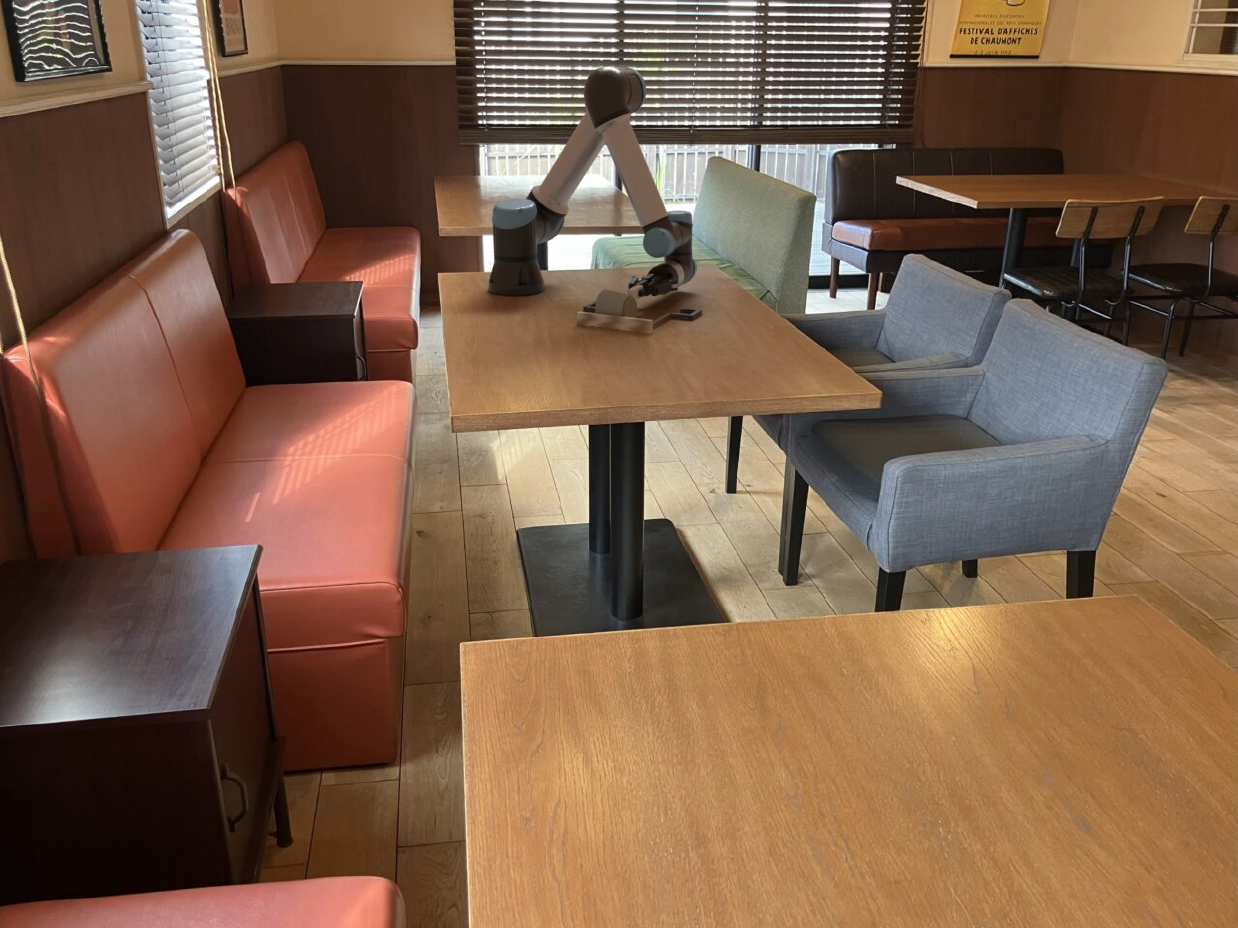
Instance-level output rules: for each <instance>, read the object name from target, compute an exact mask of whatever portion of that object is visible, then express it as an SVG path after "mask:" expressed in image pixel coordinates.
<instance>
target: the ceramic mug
mask: <svg viewBox="0 0 1238 928" xmlns="http://www.w3.org/2000/svg"><path fill="white" fill-rule="evenodd" d="M595 301H596V304H595V313H597V314H605V315H614V316H623V317H632V318H637V315H638V312H637V311H638V303H637V300H635V298H634V297H633V296H631V295H628V294H627V293H624V292H618V291H616V290H615V291H614V290H611V289H607V288H605V289H602V290H601V291H600V292H599V293H598V295H597V297H596V300H595Z"/></svg>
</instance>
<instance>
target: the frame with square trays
mask: <svg viewBox="0 0 1238 928" xmlns="http://www.w3.org/2000/svg"><path fill="white" fill-rule="evenodd" d="M595 304H596V300H594V301H592V302H590V303H588V304H586V305H584V306H582V310H583V311H577V312H576V325H577V326H582V325H586V326H585V327H590V326H596V327H595V328H598V327H602V328H601V329H607V328H611V329H610V330H615V329H619V330H618V331H624V330H625V331H626V332H633V333H635V332H636V333H643V334H651V335H652V333H653V332H654V330H655V329H656V328H657V327H659V326H660V325H663V324H664V323H666V322H667V321H670V320H671V319H675V320H683V321H694V320H695V319H697V318H698V317H700V316H702V315H703V309H699V308H691V307H680V308H679V312H667V313H666V314H664V315H662V316H660V317H659V318H657V319H655V320H654V319H648V318H640V317H639V318H638V317H636V318H632V317H623V316H614V315H605V314H597V313H595ZM625 331H624V332H625Z"/></svg>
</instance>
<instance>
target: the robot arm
mask: <svg viewBox="0 0 1238 928" xmlns="http://www.w3.org/2000/svg"><path fill="white" fill-rule="evenodd" d="M583 98H584V106H585V113H584V115H583V116H582V117H581V119H580V121H579V123H578V125H577V126H576V127H575V129H574V131H573V133H572V134H571V135H570V137H569V139H568V141H567V143H566V144H565V146H564V147H563V148H562V150H561V152H560V153H559V155H558V157H557V158H556V160H555V162H554V163H553V165H552V167H551V168H550V170H549V171H548V173H547V174H546V175H545V177H544V179H543V180H542V183H541V184H540V185H535V186H533V187H532V188H531V190H530V192H528V194H527V196H526V198H525V199H524V198H514V199H509V200H507V199H506V200H502V201H500V202H498V203H496V204H495V205H493V208H492V217H491V223H492V241H493V246H492V247H493V265H492V269H491V272H490V274H489V275H490V276H489V279H488V291H489V293H493V294H495V295H501V296H530V295H536V294H539V293H542V292H544V291H545V280H544V277H543V274H542V271H541V268H540V266H539V262H538V245H539V244H542V243H546V242H549V241H552V240H553V239H555V238H556V237H557V236H558V235H559V234H560V232H562V230H563V228H564V224H565V217H567V215H568V212H569V205H568V202H570V200H571V197H572V196H573V195H574V193H575V192H576V191H577V188H578V187H579V186H580V184H581V183H582V181H583V179H584V178H585V176H586V174H587V173H588V171H589V170H590V168H591V167H592V165H593V163H594V162H595V160H596V159H597V158H598V156H599V154H600V152H601V151H602V149H604V146H605V145H606V148H607V150H608V153H609V155H610V157H611V160H612V162H613V164H614V166H615V169H616V171H617V174H618V177H620V181H621V182H622V185H623V188H624V190H625V192H626V195H627V197H628V200H629V202H630V204H631V207H632V209H633V211H634V213H635V216H636V219H637V221H638V224H639V225H640V228H641V230H642V233H643V235H644V236H643V240H642V246H643V249H644V252H645V253H646V254H647V255H648V256H650V257H652V258H655V259H661V258H663V262H661V263H658V264H657V265H655V266H653V267H652V268H651V269H650V270H649V271H648V272H647V275H644V276H642V277H641V278H640V276H636V275H632V276H631V280H630V281H629V282H628V287H627V288H628V289H627V290H626V291H627V292H626V294H628V295H631V296H633V297H634V298H635V300H636V301H638V300H639V299H641V298H643V297H649V296H650V295H651V297H658V296H660V295H661V296H663V295H666V294H669V293H671V292H676V291H678V290H679V287H681V286H682V285H685V284H687V283H689V282H690V281H691V280H692V279H694V277H695V276H696V274H697V272H698V271H697V270H698V264H697V262H696V259H695V258H694V257H693V227H694V224H693V214H692V213H691V212H690V211H687V210H669V211H667V209H666V206H665V204H664V202H663V199H662V197H661V195H660V192H659V189H658V187H657V184H656V182H655V180H654V177H653V175H652V172H651V170H650V167H649V165H648V162H647V160H646V157H645V156H644V153H643V150H642V148H641V146H640V144H639V141H638V138H637V135H636V134H635V131H634V129H633V126H632V124H631V121H630V119H631V116H632V114H633V113H636V112H637V111H639V109H641V108H642V106H643V105H644V103H645V101H646V98H647V85H646V81H645V79H644V77H643V75H642V74H641V73H640V72H639V71H637V69H635V68H633V67H631V66H628V65H621V64H620V65H616V66H611V65H610V66H608V65H607V66H605V65H604V66H601V67H599V68H596V69H594V70H593V71H592V72H591V73H590V74H589V75H588V76H587V79H586V80H585V83H584V87H583Z"/></svg>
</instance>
